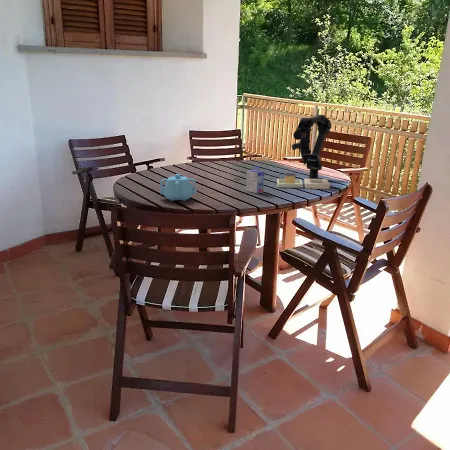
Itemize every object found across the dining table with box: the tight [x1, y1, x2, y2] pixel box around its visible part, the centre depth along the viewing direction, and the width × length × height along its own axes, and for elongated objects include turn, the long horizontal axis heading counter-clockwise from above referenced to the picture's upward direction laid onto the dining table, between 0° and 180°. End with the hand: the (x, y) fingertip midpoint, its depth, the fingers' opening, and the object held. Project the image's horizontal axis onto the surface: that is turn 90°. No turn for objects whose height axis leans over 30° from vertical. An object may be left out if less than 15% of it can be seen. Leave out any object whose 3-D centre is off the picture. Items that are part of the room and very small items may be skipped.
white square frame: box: [303, 178, 331, 190], centre depth 276 cm, size 14×14×3 cm
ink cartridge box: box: [245, 165, 265, 194], centre depth 259 cm, size 10×6×14 cm, turn 38°
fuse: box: [284, 172, 296, 184], centre depth 277 cm, size 4×6×7 cm
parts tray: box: [276, 178, 304, 189], centre depth 277 cm, size 14×15×2 cm
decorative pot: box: [159, 173, 198, 202], centre depth 242 cm, size 16×16×14 cm
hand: (303, 163), depth 284 cm, fingers open, 9 cm apart
